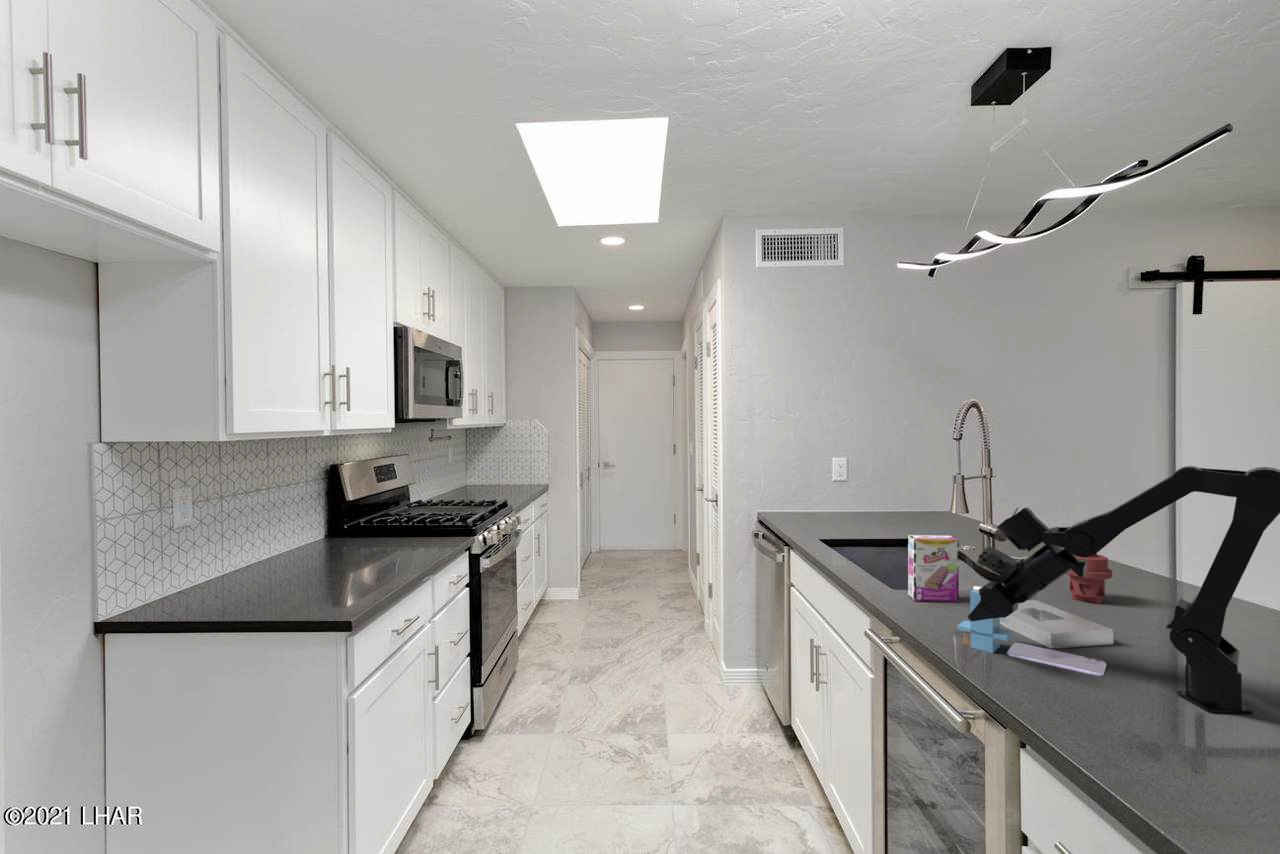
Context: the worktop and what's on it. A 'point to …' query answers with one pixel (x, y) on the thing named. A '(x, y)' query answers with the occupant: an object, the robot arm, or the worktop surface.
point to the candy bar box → (933, 568)
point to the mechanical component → (1090, 580)
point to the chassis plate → (1055, 626)
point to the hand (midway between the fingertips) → (977, 613)
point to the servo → (983, 629)
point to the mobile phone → (1058, 659)
